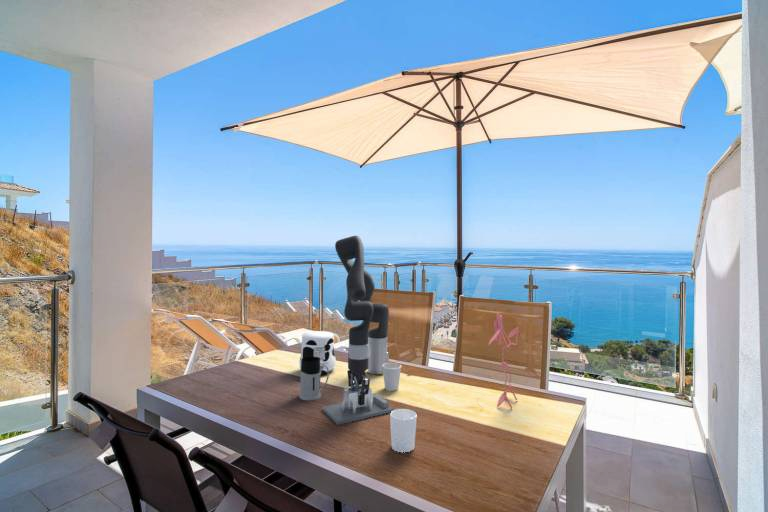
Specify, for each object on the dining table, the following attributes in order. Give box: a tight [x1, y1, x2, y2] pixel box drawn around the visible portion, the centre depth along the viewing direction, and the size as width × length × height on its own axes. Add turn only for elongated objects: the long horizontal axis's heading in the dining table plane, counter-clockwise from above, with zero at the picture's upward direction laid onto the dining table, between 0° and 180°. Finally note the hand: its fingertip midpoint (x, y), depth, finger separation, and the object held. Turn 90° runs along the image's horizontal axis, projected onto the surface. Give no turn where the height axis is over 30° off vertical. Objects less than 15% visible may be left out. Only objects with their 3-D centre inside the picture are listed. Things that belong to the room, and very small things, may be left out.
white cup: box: [389, 408, 417, 454], centre depth 114 cm, size 8×8×10 cm
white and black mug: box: [298, 357, 330, 401], centre depth 152 cm, size 9×14×15 cm, turn 55°
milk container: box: [299, 330, 337, 375], centre depth 186 cm, size 17×17×18 cm
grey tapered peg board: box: [321, 392, 395, 426], centre depth 140 cm, size 22×14×5 cm, turn 120°
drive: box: [343, 387, 373, 409], centre depth 140 cm, size 9×5×6 cm, turn 118°
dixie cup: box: [382, 362, 403, 392], centre depth 163 cm, size 8×8×10 cm
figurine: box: [488, 312, 520, 409], centre depth 151 cm, size 15×26×35 cm, turn 149°
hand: (358, 402), depth 140 cm, fingers closed on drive, 5 cm apart
